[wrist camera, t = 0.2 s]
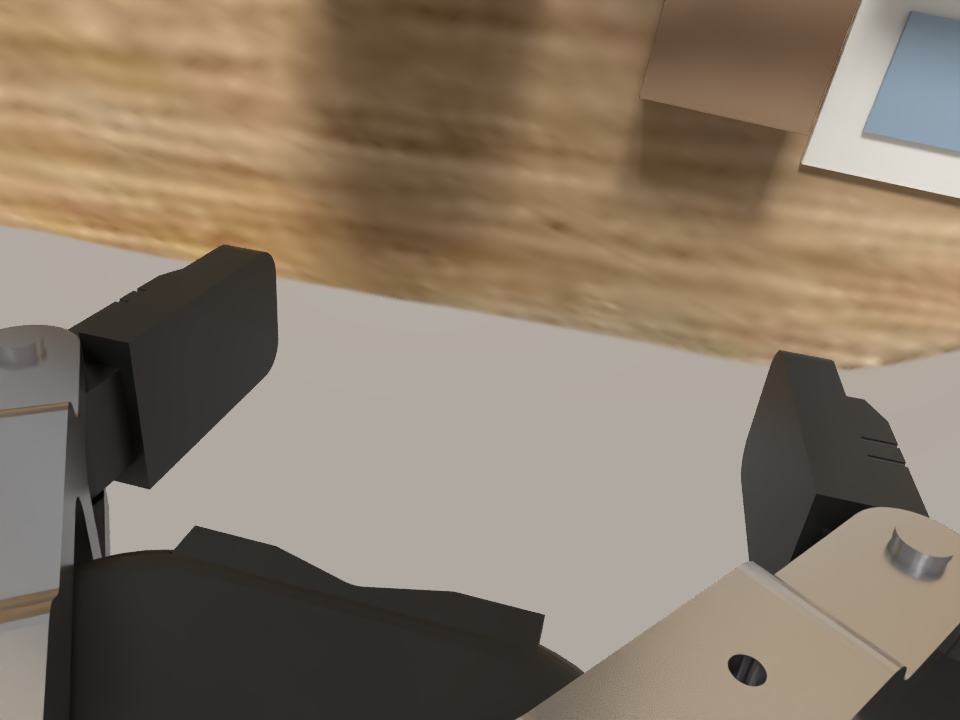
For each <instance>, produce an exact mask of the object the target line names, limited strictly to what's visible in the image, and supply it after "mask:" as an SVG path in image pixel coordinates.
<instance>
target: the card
mask: <svg viewBox="0 0 960 720" xmlns="http://www.w3.org/2000/svg"><path fill="white" fill-rule="evenodd" d="M801 164H804V165H808V166H813V167H818V168H822V169H827V170H831V171H836V172H841V173H845V174H850V175H854V176H859V177H864V178H868V179H873V180H878V181H882V182H887V183H891V184H896V185H901V186H905V187H910V188H914V189H919V190H924V191H928V192H933V193H937V194H942V195H947V196H951V197H956V198H960V0H860V3H859V5H858V8H857V11H856V14H855V16H854V19H853V22H852V24H851V27H850V30H849V32H848V35H847V38H846V41H845V43H844V46H843V49H842V51H841V54H840V57H839V59H838V62H837V65H836V68H835V70H834V73H833V76H832V78H831V81H830V84H829V86H828V89H827V92H826V95H825V97H824V100H823V103H822V105H821V108H820V111H819V113H818V116H817V119H816V122H815V124H814V127H813V130H812V132H811V135H810V138H809V140H808V143H807V146H806V149H805V151H804V154H803V157H802V159H801Z"/></svg>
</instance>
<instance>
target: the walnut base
mask: <svg viewBox="0 0 960 720" xmlns="http://www.w3.org/2000/svg"><path fill="white" fill-rule="evenodd" d="M858 1H859V0H665V3H664V6H663V10H662V14H661V18H660V21H659V25H658V29H657V33H656V36H655V40H654V44H653V48H652V51H651V55H650V59H649V63H648V66H647V70H646V74H645V78H644V81H643V85H642V89H641V93H640V96H639V98H642V99H647V100H651V101H656V102H660V103H665V104H669V105H674V106H678V107H683V108H687V109H692V110H696V111H701V112H705V113H709V114H714V115H718V116H723V117H727V118H732V119H736V120H741V121H745V122H750V123H754V124H759V125H763V126H768V127H772V128H777V129H781V130H786V131H790V132H795V133H799V134H804V135H808V132H809V130H810V127H811V124H812V122H813V119H814V117H815V114H816V111H817V109H818V106H819V103H820V101H821V98H822V96H823V93H824V90H825V88H826V85H827V82H828V80H829V77H830V75H831V72H832V69H833V67H834V64H835V61H836V59H837V56H838V54H839V51H840V48H841V46H842V43H843V40H844V38H845V35H846V33H847V30H848V27H849V25H850V22H851V19H852V17H853V14H854V12H855V9H856V6H857V4H858Z"/></svg>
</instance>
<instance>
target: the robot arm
mask: <svg viewBox="0 0 960 720" xmlns="http://www.w3.org/2000/svg"><path fill="white" fill-rule="evenodd" d="M276 294H277V293H276V269H275V263H274V260H273V258H272V256H271V255H270V254H269V253H267V252H262V251H256V250H251V249H246V248H240V247H235V246H230V245H222V246H219V247H218V248H216V249H214V250H213V251H211V252H210V253H208V254H206V255H205V256H203V257H201V258H200V259H198V260H196V261H195V262H193V263H191V264H190V265H188V266H187V267H185V268H183V269H180V270H177V271H173V272H170V273H167V274H163V275H160V276H158V277H156V278H154V279H153V280H151V281H149V282H148V283H146V284H144V285H143V286H141V287H139V288H138V290H137V292H136V291H132V292H131V293H129V294H127V295H126V296H124V297H123V298H121V299H120V301H119V302H114V303H112V304H110V305H109V306H107V307H106V308H104V309H103V310H101V311H99V312H97V313H95V314H94V315H92V316H90V317H89V318H87V319H85V320H84V321H82V322H80V323H78V324H77V325H75V326H73V327H72V328H70V329H68V330H67V329H63V328H60V327H55V326H48V325H23V326H15V327H9V328H4V329H0V720H960V534H958V533H957V532H955V531H953V530H952V529H950V528H949V527H947V526H945V525H943V524H941V523H939V522H937V521H935V520H933V519H930V518H929V516H928V513H927V511H926V509H925V506H924V504H923V502H922V499H921V497H920V495H919V492H918V490H917V488H916V485H915V483H914V481H913V479H912V476H911V474H910V471H909V469H908V468H907V467H905V460H904V458H903V455H902V453H901V451H900V449H899V448H897V445H898V444H897V441H896V439H895V437H894V434H893V432H892V430H891V428H890V425H889V423H888V421H887V420H886V419H885V418H883V417H882V416H881V415H880V414H879V413H878V412H877V411H876V410H875V409H874V408H873V407H872V406H871V405H869V404H868V403H867V402H866V401H865V400H863V399H858V398H852V397H848V396H846V395H845V392H844V389H843V386H842V383H841V381H840V378H839V375H838V372H837V369H836V367H835V364H834V362H833V361H832V360H829V359H824V358H818V357H813V356H808V355H802V354H797V353H792V352H787V351H781V350H779V351H778V352H777V353H776V355H775V357H774V359H773V361H772V363H771V366H770V369H769V372H768V375H767V378H766V382H765V385H764V388H763V391H762V394H761V397H760V400H759V403H758V406H757V409H756V413H755V416H754V419H753V422H752V425H751V428H750V431H749V434H748V438H747V441H746V445H745V449H744V454H743V460H742V468H741V483H742V493H743V503H744V513H745V522H746V533H747V543H748V552H749V562H746V563H744V564H742V565H740V566H739V567H737V568H735V569H734V570H733V571H731V572H730V573H728V574H727V575H725V576H724V577H723V578H721V579H720V580H718V581H717V582H715V583H714V584H712V585H711V586H709V587H708V588H707V589H705V590H704V591H702V592H701V593H699V594H698V595H696V596H695V597H694V598H692V599H691V600H689V601H688V602H686V603H685V604H683V605H682V606H681V607H679V608H678V609H676V610H675V611H673V612H672V613H671V614H669V615H668V616H666V617H665V618H663V619H662V620H660V621H659V622H658V623H656V624H655V625H653V626H652V627H650V628H649V629H647V630H646V631H645V632H643V633H642V634H640V635H639V636H637V637H636V638H634V639H633V640H632V641H630V642H629V643H627V644H626V645H624V646H623V647H621V648H620V649H619V650H617V651H616V652H614V653H613V654H611V655H610V656H608V657H607V658H606V659H604V660H603V661H601V662H600V663H598V664H597V665H596V666H594V667H593V668H591V669H590V670H588V671H587V672H585V673H584V672H583V671H582V670H580V669H579V668H578V667H577V666H575V665H574V664H572V663H571V662H569V661H567V660H566V659H564V658H563V657H561V656H560V655H558V654H557V653H555V652H553V651H551V650H549V649H547V648H546V647H544V646H542V645H540V644H539V643H540V638H541V633H542V628H543V622H544V617H545V615H543V614H539V613H535V612H531V611H527V610H523V609H520V608H516V607H512V606H508V605H504V604H500V603H496V602H492V601H488V600H484V599H480V598H477V597H472V596H469V595H465V594H461V593H457V592H450V591H431V590H412V589H393V588H375V587H360V586H355V585H351V584H349V583H346V582H344V581H342V580H340V579H338V578H337V577H335V576H333V575H330V574H329V573H327V572H325V571H323V570H321V569H319V568H317V567H315V566H313V565H311V564H309V563H308V562H306V561H304V560H302V559H300V558H298V557H296V556H294V555H292V554H290V553H288V552H286V551H284V550H282V549H280V548H278V547H276V546H273V545H269V544H265V543H261V542H257V541H253V540H250V539H245V538H242V537H238V536H234V535H230V534H226V533H222V532H218V531H214V530H210V529H207V528H203V527H199V526H195V527H194V528H193V529H192V530H191V531H190V532H189V533H188V534H187V536H186V537H185V538H184V539H183V540H182V541H181V543H180V544H179V545H178V546H177V547H176V548H175V549H174V550H145V551H136V552H129V553H121V554H117V555H111V556H110V530H109V504H108V499H107V493H106V487H107V486H108V485H109V484H110V483H111V482H112V481H118V482H123V483H126V484H130V485H134V486H138V487H143V488H147V489H151V488H152V487H153V486H154V485H155V484H156V483H157V482H158V481H159V480H160V479H161V478H162V477H163V476H164V475H165V474H166V473H167V472H168V471H169V470H170V469H171V468H172V467H173V466H174V465H175V464H176V463H177V462H178V461H179V460H180V459H181V458H182V457H183V456H184V455H185V454H186V453H187V452H188V451H189V450H190V449H191V448H192V447H194V445H196V444H197V443H198V442H199V441H200V439H202V438H203V437H204V436H205V435H206V434H207V433H208V432H209V431H210V430H211V429H212V428H213V427H214V426H215V425H216V424H217V423H218V422H219V421H220V420H221V419H222V418H223V417H224V416H225V415H226V414H227V413H228V412H229V411H230V410H231V409H232V408H233V407H234V406H235V405H236V404H237V403H238V402H239V401H241V400H242V399H243V398H244V396H246V395H247V394H248V393H249V392H250V391H251V390H252V389H253V388H254V387H255V386H256V385H257V384H258V383H259V382H260V381H261V380H262V379H263V378H264V377H265V376H266V375H267V374H268V372H269V370H270V369H271V367H272V365H273V363H274V360H275V357H276V353H277V347H278V323H277V295H276Z"/></svg>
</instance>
